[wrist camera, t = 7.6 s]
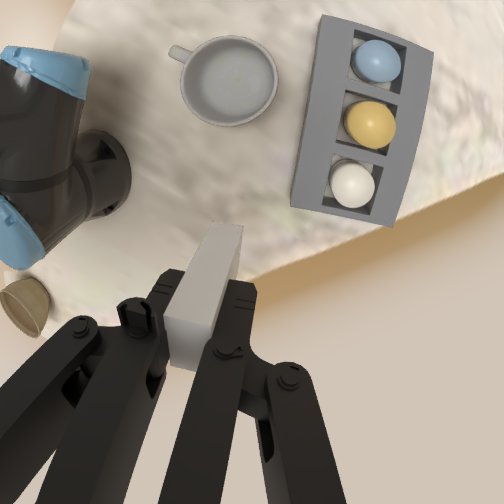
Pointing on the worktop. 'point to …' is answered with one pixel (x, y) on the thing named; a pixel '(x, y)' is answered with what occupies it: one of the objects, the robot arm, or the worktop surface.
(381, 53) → the button blue
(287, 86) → the worktop surface
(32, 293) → the planter bowl
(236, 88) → the teacup
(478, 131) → the worktop surface
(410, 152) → the three ball holder
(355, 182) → the button ivory
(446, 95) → the worktop surface
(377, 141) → the button ochre
